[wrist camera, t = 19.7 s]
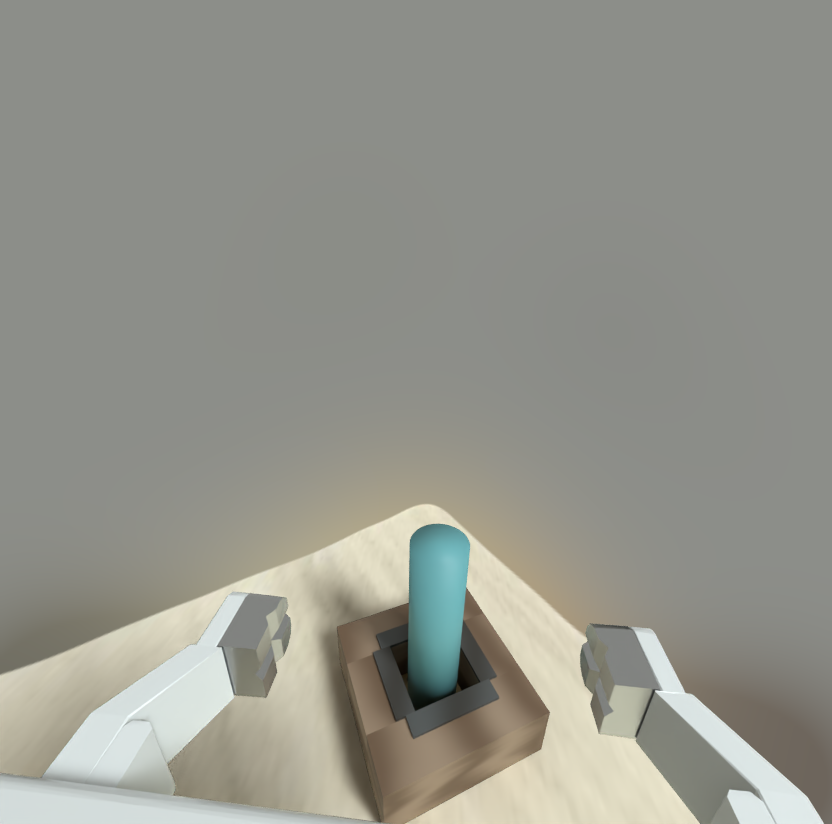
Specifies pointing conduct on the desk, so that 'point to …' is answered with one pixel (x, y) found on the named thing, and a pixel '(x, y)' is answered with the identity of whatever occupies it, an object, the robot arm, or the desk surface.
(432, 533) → the peg
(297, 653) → the desk surface
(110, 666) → the desk surface
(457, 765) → the socket block
